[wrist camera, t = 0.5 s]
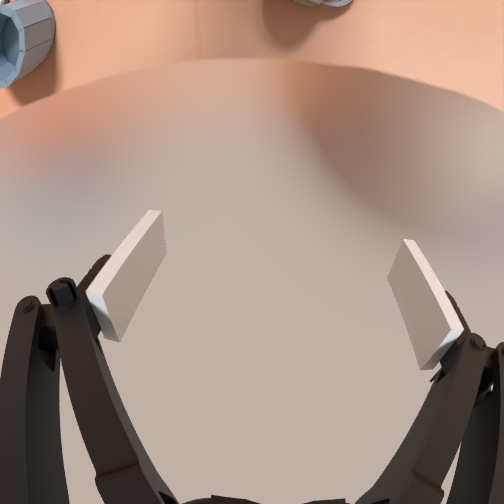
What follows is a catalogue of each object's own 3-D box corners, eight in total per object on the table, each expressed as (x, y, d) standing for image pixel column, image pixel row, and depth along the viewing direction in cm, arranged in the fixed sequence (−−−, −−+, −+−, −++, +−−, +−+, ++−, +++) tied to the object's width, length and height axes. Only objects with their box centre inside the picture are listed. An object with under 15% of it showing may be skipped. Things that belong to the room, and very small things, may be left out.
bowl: (16, -11, 14) (-15, -1, 10) (68, 9, 21) (36, 19, 17) (-6, 56, 23) (-32, 73, 19) (39, 81, 30) (13, 100, 26)
